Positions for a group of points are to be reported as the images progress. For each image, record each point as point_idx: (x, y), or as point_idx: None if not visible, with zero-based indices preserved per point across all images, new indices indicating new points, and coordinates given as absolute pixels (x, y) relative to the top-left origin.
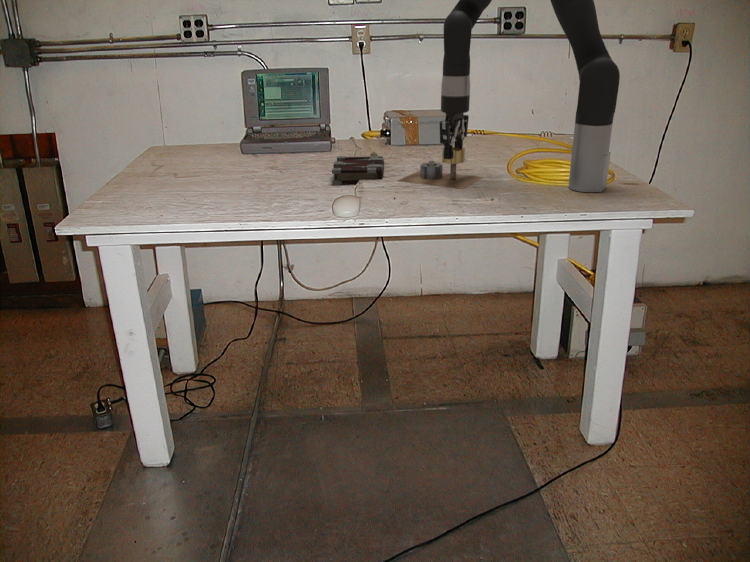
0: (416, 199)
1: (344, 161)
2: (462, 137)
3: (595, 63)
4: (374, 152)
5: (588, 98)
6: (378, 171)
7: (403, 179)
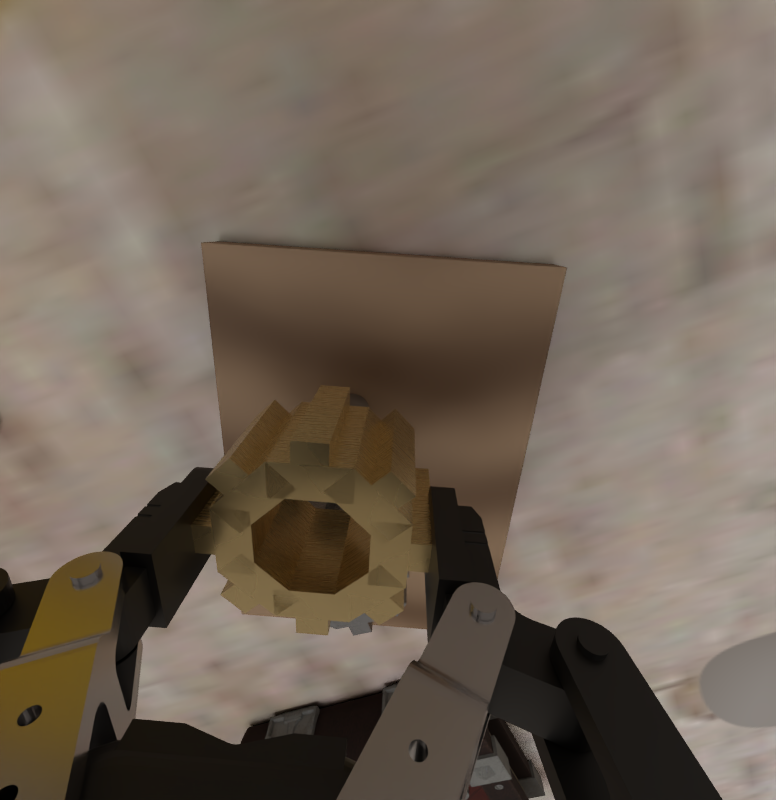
0: (704, 468)
1: None
2: (113, 592)
3: None
4: None
5: None
6: (487, 737)
7: None
